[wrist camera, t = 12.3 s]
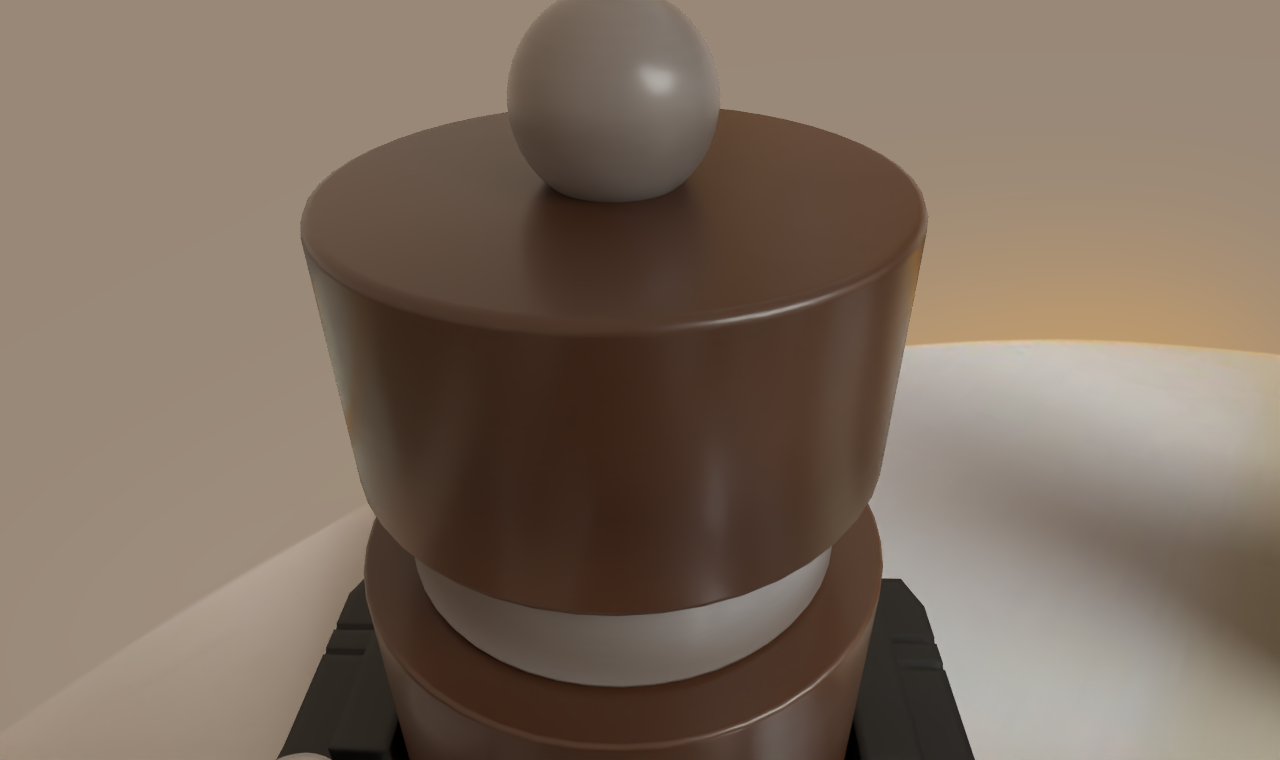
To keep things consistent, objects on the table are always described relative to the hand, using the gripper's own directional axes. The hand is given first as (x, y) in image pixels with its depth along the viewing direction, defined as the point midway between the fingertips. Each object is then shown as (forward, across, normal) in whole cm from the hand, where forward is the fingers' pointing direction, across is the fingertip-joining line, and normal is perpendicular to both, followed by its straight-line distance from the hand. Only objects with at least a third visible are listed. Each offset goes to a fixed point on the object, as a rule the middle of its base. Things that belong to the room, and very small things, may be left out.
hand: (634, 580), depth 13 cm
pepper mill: (-3, 0, +9) cm, 10 cm away
